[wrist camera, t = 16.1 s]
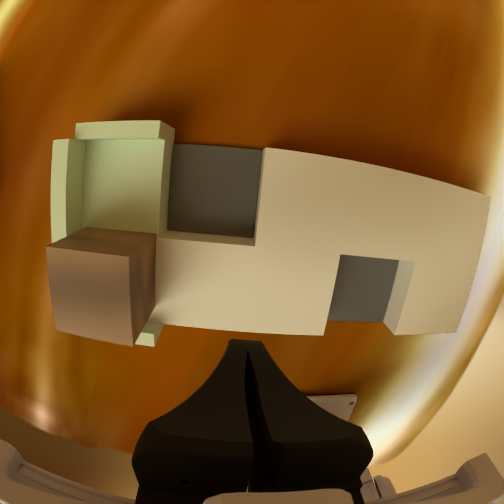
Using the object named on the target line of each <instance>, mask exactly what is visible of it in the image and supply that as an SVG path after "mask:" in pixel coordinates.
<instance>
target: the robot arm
mask: <svg viewBox="0 0 504 504" xmlns="http://www.w3.org/2000/svg"><path fill="white" fill-rule="evenodd" d="M357 399H358V397H357V395H356V394H346V395H326V396H305V395H304V394H303V393H302V392H300V391H299V390H298V389H297V388H296V387H295V386H294V385H293V384H292V383H291V382H290V381H289V379H288V378H287V377H286V376H285V375H284V374H283V372H282V371H281V370H280V369H279V367H278V366H277V365H276V363H275V362H274V360H273V359H272V357H271V356H270V354H269V353H268V351H267V349H266V348H265V346H264V344H263V343H262V342H261V341H251V340H237V339H231V340H230V341H229V343H228V347H227V349H226V351H225V354H224V356H223V357H222V359H221V361H220V362H219V364H218V366H217V367H216V369H215V370H214V371H213V373H212V374H211V375H210V377H209V378H208V379H207V380H206V381H205V383H204V384H203V385H202V386H201V387H200V388H199V389H198V390H197V391H196V392H195V393H194V394H193V395H191V396H190V397H189V398H188V399H187V400H186V401H184V402H183V403H181V404H180V405H179V406H177V407H176V408H174V409H173V410H171V411H170V412H168V413H166V414H165V415H163V416H161V417H159V418H157V419H155V420H153V421H150V422H149V423H148V424H147V426H146V427H145V429H144V431H143V432H142V434H141V436H140V438H139V440H138V442H137V444H136V447H135V450H134V453H133V457H132V467H133V470H134V472H135V475H136V478H137V481H138V483H139V488H138V492H137V496H136V500H132V499H128V498H125V497H120V496H117V495H113V494H110V493H106V492H103V491H100V490H96V489H93V488H90V487H87V486H84V485H81V484H78V483H75V482H73V481H70V480H67V479H65V478H62V477H60V476H57V475H55V474H52V473H50V472H48V471H45V470H43V469H41V468H39V467H37V466H34V465H32V464H30V463H28V462H26V461H24V460H23V459H22V457H21V455H20V454H19V452H18V451H17V450H16V449H15V448H14V447H13V446H12V445H10V444H9V443H7V442H5V441H3V440H1V439H0V504H496V503H497V502H498V501H499V500H500V499H501V498H502V497H503V496H504V479H503V477H502V476H501V474H500V473H499V471H498V470H497V468H496V467H495V465H494V464H493V462H492V461H491V460H490V458H489V457H488V455H487V454H486V453H483V454H481V455H479V456H477V457H475V458H473V459H470V460H468V461H467V462H465V463H464V464H463V465H462V466H461V467H460V468H459V469H458V471H457V472H456V474H454V475H452V476H449V477H446V478H444V479H441V480H439V481H436V482H433V483H430V484H428V485H424V486H422V487H419V488H415V489H412V490H409V491H406V492H402V493H399V494H397V493H396V491H395V489H394V487H393V485H392V483H391V481H390V479H389V478H387V477H382V475H377V476H375V477H374V482H375V484H374V482H373V480H372V477H371V474H370V472H369V469H368V468H367V466H368V465H369V463H370V462H371V459H372V457H373V449H372V447H371V444H370V442H369V440H368V438H367V436H366V434H365V433H364V431H363V429H362V427H359V426H357V425H355V424H352V423H350V422H348V420H349V418H350V416H351V414H352V411H353V409H354V407H355V404H356V402H357ZM350 402H351V403H350ZM247 486H248V492H246V491H247ZM375 486H376V487H375Z"/></svg>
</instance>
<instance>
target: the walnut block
mask: <svg viewBox="0 0 504 504" xmlns="http://www.w3.org/2000/svg"><path fill="white" fill-rule="evenodd" d="M46 256H47V268H48V277H49V285H50V293H51V300H52V307H53V313H54V318H55V324H56V329H57V330H58V331H62V332H66V333H70V334H74V335H78V336H83V337H87V338H92V339H96V340H101V341H106V342H111V343H116V344H121V345H127V346H132V347H133V346H134V344H135V343H136V341H137V339H138V337H139V335H140V333H141V331H142V330H143V328H144V326H145V324H146V322H147V321H148V319H149V317H150V315H151V313H152V312H153V310H154V308H155V265H156V233H145V232H135V231H124V230H114V229H103V228H93V227H86V228H84V229H81V230H79V231H77V232H75V233H73V234H71V235H69V236H66V237H64V238H62V239H60V240H58V241H56V242H54V243H52V244H50V245H48V246H46Z"/></svg>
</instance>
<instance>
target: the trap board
mask: <svg viewBox="0 0 504 504" xmlns="http://www.w3.org/2000/svg"><path fill="white" fill-rule="evenodd" d="M174 136H175V129H174V128H173V127H171V126H169V125H168V124H166V123H164V122H162V121H161V120H133V121H105V122H88V123H76V131H75V139H60V140H53V152H52V168H51V232H52V243H54V242H56V241H58V240H60V239H62V238H64V237H66V236H69V235H71V234H73V233H75V232H77V231H79V230H81V229H84V228H86V227H93V228H103V229H114V230H124V231H135V232H145V233H156V265H155V308H154V310H153V312H152V313H151V315H150V317H149V319H148V321H147V322H146V324H145V326H144V328H143V330H142V331H141V333H140V335H139V337H138V339H137V341H136V343H135V344H140V345H146V346H153V347H155V344H156V342H157V340H158V337H159V335H160V333H161V331H162V328H163V326H164V324H170V325H179V326H187V327H197V328H207V329H217V330H229V331H242V332H256V333H273V334H294V335H324V330H325V326H326V322H327V321H363V322H384V323H385V325H386V326H387V327H388V328H389V329H390V331H391V332H392V333H393V334H394V335H414V334H434V333H449V332H456V330H457V328H458V325H459V322H460V319H461V317H462V314H463V311H464V308H465V305H466V302H467V299H468V295H469V292H470V289H471V286H472V282H473V279H474V275H475V271H476V267H477V264H478V260H479V255H480V251H481V247H482V242H483V237H484V233H485V227H486V222H487V216H488V210H489V204H490V196H487V195H484V194H481V193H478V192H475V191H472V190H468V189H465V188H462V187H459V186H455V185H452V184H449V183H445V182H442V181H438V180H434V179H431V178H427V177H423V176H419V175H415V174H411V173H407V172H403V171H399V170H395V169H390V168H386V167H381V166H377V165H372V164H367V163H362V162H357V161H352V160H347V159H341V158H336V157H330V156H324V155H318V154H312V153H305V152H298V151H291V150H283V149H275V148H267V147H266V148H264V149H263V152H262V150H255V149H245V148H234V147H222V146H208V145H192V144H174ZM261 157H262V162H261ZM260 167H261V171H260ZM259 176H260V180H259ZM258 185H259V189H258ZM257 195H258V199H257ZM256 204H257V208H256ZM255 213H256V217H255ZM254 223H255V227H254ZM253 232H254V236H253Z"/></svg>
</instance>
